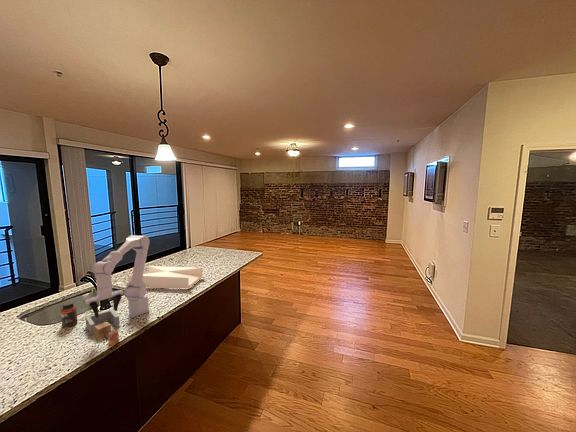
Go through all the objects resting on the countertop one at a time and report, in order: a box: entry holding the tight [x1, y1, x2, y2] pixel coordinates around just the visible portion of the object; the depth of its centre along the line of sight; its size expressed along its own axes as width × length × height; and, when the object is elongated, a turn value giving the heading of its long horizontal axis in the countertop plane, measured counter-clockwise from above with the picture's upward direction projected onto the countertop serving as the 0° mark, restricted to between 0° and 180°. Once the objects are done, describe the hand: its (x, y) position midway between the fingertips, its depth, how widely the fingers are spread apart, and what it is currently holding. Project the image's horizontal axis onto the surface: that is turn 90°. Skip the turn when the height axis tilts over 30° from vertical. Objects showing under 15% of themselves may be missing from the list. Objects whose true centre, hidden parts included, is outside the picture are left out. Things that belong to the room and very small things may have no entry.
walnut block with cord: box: [94, 321, 120, 346], centre depth 115 cm, size 5×16×5 cm, turn 56°
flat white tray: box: [127, 265, 203, 289], centre depth 184 cm, size 45×22×10 cm, turn 85°
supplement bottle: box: [60, 301, 78, 328], centre depth 126 cm, size 6×6×11 cm
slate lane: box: [85, 308, 120, 336], centre depth 125 cm, size 12×12×5 cm
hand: (106, 313), depth 118 cm, fingers open, 7 cm apart
